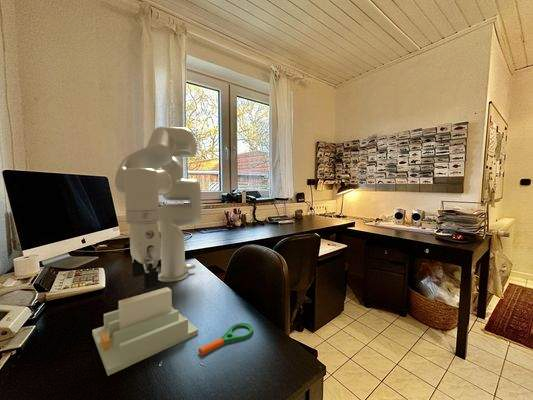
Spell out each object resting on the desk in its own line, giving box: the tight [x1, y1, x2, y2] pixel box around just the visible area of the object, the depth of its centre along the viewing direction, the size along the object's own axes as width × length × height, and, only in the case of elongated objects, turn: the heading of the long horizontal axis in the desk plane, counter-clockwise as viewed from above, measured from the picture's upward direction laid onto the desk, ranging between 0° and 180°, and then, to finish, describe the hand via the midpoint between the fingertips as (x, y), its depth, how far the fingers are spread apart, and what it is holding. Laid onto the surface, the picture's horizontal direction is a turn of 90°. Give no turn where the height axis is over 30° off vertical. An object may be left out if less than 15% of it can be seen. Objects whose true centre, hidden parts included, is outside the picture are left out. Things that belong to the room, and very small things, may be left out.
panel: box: [118, 286, 173, 330], centre depth 62 cm, size 12×3×9 cm, turn 134°
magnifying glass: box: [198, 322, 254, 357], centre depth 59 cm, size 15×6×2 cm, turn 135°
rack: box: [91, 306, 199, 377], centre depth 61 cm, size 20×19×5 cm
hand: (144, 281), depth 62 cm, fingers open, 9 cm apart
